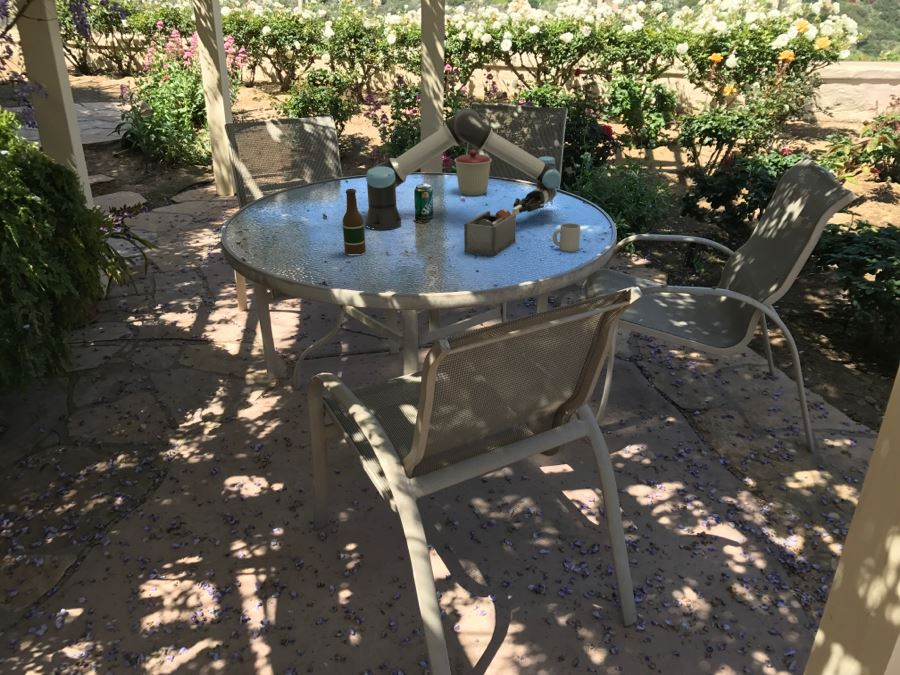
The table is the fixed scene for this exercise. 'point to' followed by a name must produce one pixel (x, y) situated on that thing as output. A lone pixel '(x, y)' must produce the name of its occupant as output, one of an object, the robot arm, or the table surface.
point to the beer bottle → (353, 226)
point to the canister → (473, 173)
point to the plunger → (500, 217)
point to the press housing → (489, 235)
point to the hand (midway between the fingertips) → (514, 212)
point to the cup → (568, 237)
